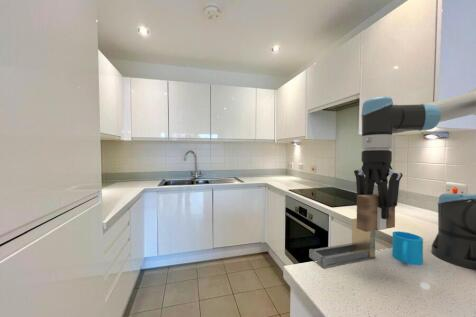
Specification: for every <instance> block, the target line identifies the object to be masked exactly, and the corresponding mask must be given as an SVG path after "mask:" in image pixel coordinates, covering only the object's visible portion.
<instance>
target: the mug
mask: <svg viewBox="0 0 476 317" xmlns="http://www.w3.org/2000/svg"><path fill="white" fill-rule="evenodd" d="M391 241H392V242H391V243H392V244H391V245H392V247H391V248H392V251H391V252H392V254H391V255H392V256H391V257H393V258H394V259H395V260H397V261H399V262H402V263H404V264H409V265H414V266H420V265H423V261H424V258H423V257H424V253H423V252H424V249H423V248H424V239H423V237H421V236H420V235H418V234H414V233H411V232H406V231H393V232H392V240H391Z"/></svg>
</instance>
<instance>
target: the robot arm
mask: <svg viewBox="0 0 476 317" xmlns="http://www.w3.org/2000/svg"><path fill="white" fill-rule="evenodd" d="M361 108H362V109H361V149H362V151H361V163H362V165H361V168H360V169H355V170H354V171H353V173H354V176H355V184H356V196H357V195H367V194H374V189H375V184H376V185H377V186H376V187H377V194H379V201H380V206H378V207H377V229H378V230H377V231H383V230H387V229H386V219H388V218H389V208H390V207H395V208H396V207H397V206H398V199H399V191H400V181H401V179H402V177H403V173H402V172H397V171H394V170H393V168H392V166H391V164H392V161H393V151H391V150H392V148H393V134H399V133H400V134H401V133H404V132H410V131H418V132H420V131H428V130H429V131H430V130H432V129H435V128H436V127H437V126H438V125H439V123H442V122H446V121H450V120H453V119H458V118H463V117H464V118H465V117H467V116H470V115H471V116H472V115H473V116H476V88H475V87H474V88H473V89H471V90H469V91H468V92H466V93H463V94H460V95H455V96H452V97H447V98H443V99H440V100H436V101H432V102H427V103H421V104H394V101H393V98H392V97H390V96H377V97H373V98H368V99H366V100H365V101H363V103H362V107H361ZM390 149H391V150H390ZM388 178H389V179H388ZM437 208H438V209H437V214H438V215H437V218H438V219H437V220H438V222H437V223H438V224H437V225H438V226H437V227H438V228H437V229H438V231H437V234H436V236H435V238H434V240H433V241H432V242H433V243H432V244H431V253H432V254H433V255H434V256H436V257H437V258H439V259H441V260H442V261H446V262H448V263H450V264H454V265H457V266H460V267H463V268H468V269H472V270H476V194H471V193H470V194H468V193H442V194H440V195H439V197H438V202H437Z"/></svg>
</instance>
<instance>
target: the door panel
mask: <svg viewBox="0 0 476 317" xmlns="http://www.w3.org/2000/svg"><path fill="white" fill-rule="evenodd" d="M378 206H380V201H379V194H378V193H373V194H367V195H357V194H356V218H357V229H360V230H362V231H365V232H369V231H375V232H376V231H379V230H378V229H377V207H378ZM393 228H396V207H390V208H389V218H388V219H386V229H385V230H387V229H393Z"/></svg>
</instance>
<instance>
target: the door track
mask: <svg viewBox="0 0 476 317" xmlns="http://www.w3.org/2000/svg"><path fill="white" fill-rule="evenodd" d="M351 220H352V221H351V225H352V226H351V243H344V244H339V245H331V246H326V247H320V248H314V249H313V248H310V249H309V251H308V252H309V253H308V256H309V257H308V258H310V259H311V260H312V261H314V262H315V261H317V262H315V263H317V264H318V265H319V266H320V267H321V268H322V269H328V268H333V267H339V266H342V265H348V264H353V263H358V262H363V261H369V260H373V259H376V230H375V231H369V232H365V231H362V230H360V229H357V217H356V218H355V217H354V218H351Z"/></svg>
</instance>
